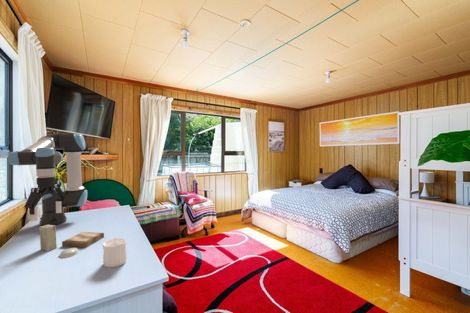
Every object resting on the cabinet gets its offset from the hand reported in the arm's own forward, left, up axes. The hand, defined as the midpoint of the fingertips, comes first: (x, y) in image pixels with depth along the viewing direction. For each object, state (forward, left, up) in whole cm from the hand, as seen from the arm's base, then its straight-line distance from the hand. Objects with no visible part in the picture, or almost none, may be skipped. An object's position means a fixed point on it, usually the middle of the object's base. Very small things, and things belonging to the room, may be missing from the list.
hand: (47, 216), depth 115 cm
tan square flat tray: (-10, +12, -17) cm, 23 cm away
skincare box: (0, 0, -18) cm, 18 cm away
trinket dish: (+4, +16, -18) cm, 24 cm away
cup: (+10, +45, -18) cm, 49 cm away
